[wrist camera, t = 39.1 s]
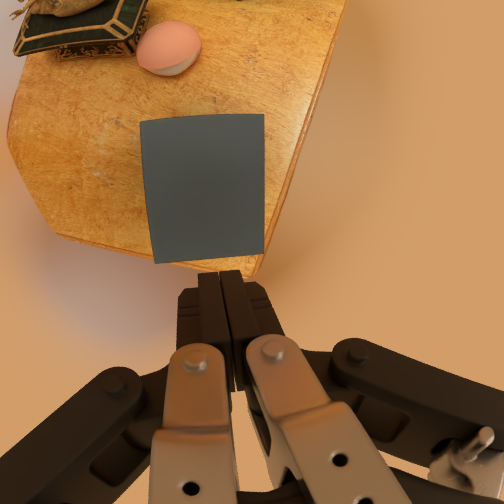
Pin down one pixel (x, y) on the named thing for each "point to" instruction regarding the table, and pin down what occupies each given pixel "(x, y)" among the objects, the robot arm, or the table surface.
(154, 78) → the table surface
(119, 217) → the table surface
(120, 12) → the decorative box
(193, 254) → the bin lid
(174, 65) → the toy ball
